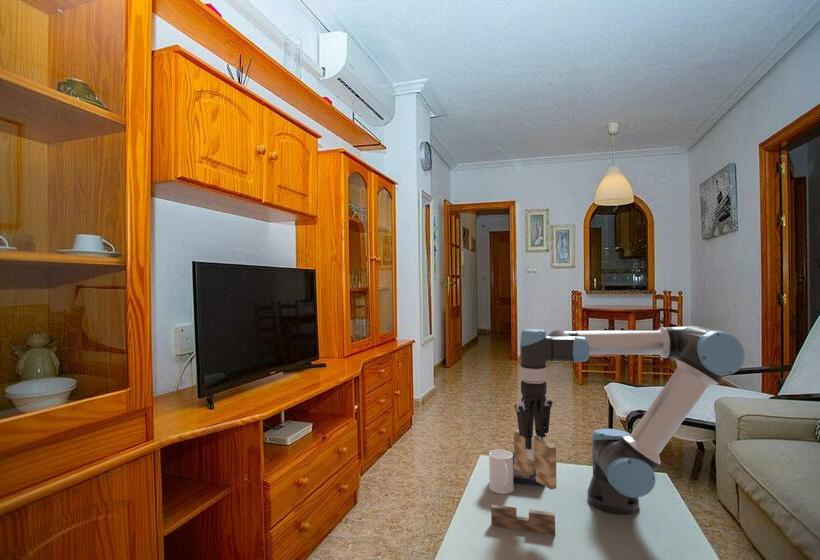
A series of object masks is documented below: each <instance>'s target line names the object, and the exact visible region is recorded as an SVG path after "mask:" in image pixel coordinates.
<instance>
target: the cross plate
mask: <svg viewBox="0 0 820 560" xmlns="http://www.w3.org/2000/svg"><path fill="white" fill-rule="evenodd" d="M532 438H534V439H535V461H532V460H530V459H528V458H527V448H526V447H525V438H524V437H522V436H520V435H519V429H515V430H513V453H514V468H515V469H516V470H518V471H520V472H522V473H523V474H525V475H527V476H530V475H533V468H534V469H536V481H537V482H539V483H540V484H542V485H544V486H545V488H548V489H549V490H551V491H552V490H556V489H557V446H555V445H553V444H552V443H549V442H547V441H544V439H543V440H540V439H538V438H536V437H534V436H533V437H532Z"/></svg>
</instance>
